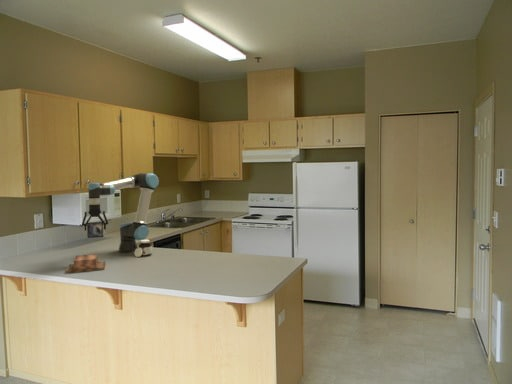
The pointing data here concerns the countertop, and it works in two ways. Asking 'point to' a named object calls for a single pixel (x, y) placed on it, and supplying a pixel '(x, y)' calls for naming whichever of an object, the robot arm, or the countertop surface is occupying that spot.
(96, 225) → the small box
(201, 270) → the countertop surface
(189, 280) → the countertop surface
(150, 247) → the spread jar
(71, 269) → the tower base
